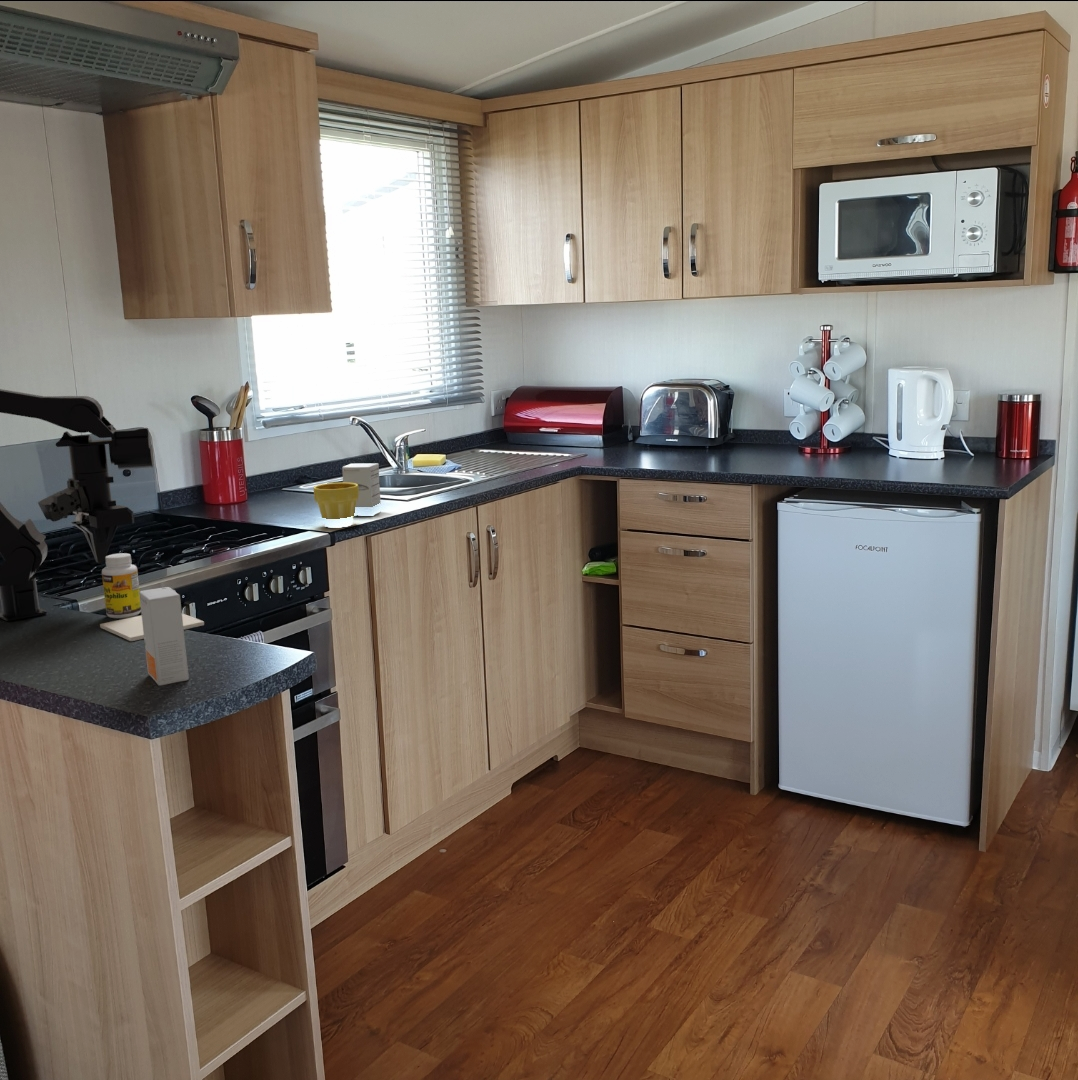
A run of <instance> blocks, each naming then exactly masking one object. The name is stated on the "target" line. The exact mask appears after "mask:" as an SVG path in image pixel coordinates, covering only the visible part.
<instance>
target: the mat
mask: <svg viewBox="0 0 1078 1080" xmlns="http://www.w3.org/2000/svg"><path fill="white" fill-rule="evenodd" d="M182 619H183V628H184V630H189V629H192V628H197V627H200V626H202V627H203V626H205V621H203V620H201V619H199V618H196V617H193V616H190V615H187V614H185V613H183V612H182ZM99 627H100V628H101V629H103V630H105V631H107V632H109V633H112V634H114V635H116V636H119V637H120V638H123V639H125V640H127V641H129V642H134V641H138V640H139V641H140V640H143V639H144V632H143V623H142V614H141V615H136V616H133V617H128V618H121V619H119V620H112V621H109V622H108V621H107V622H104V623H100V624H99Z"/></svg>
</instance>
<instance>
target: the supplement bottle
mask: <svg viewBox="0 0 1078 1080" xmlns="http://www.w3.org/2000/svg"><path fill="white" fill-rule="evenodd" d="M138 573H139V571H138V567H137V565H135V564H132V556H131V554H130V553H127V552H124V553H123V552H122V553H112V554H109V555H106V557H105V567H104V568H102V570H101V577H102V579H101V580H102V586H103V594H104V603H105V612H106V613H105V614H106V616H107V617H108V618H111V619H127V618H131V617H136V616H139V614H141V605H140V596H139V591H141V590H140V582H139V574H138Z"/></svg>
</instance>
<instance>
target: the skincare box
mask: <svg viewBox="0 0 1078 1080" xmlns="http://www.w3.org/2000/svg"><path fill="white" fill-rule="evenodd" d="M139 596H140V605H141V612H140V614H141V615H142V623H143V632H144V641H143V642H144V647H145V658H146V665H147V674H148V675H149V677H151V678H152V679H153V681H154V682H155V683H156V684H157V686H164V685H165V686H166V685H169V684H174V683H180V682H185V681H189V679H190V677H189V676H190V675H189V667H188V658H187V651H186V640H185V638H186V637H185V631H184V630H185V629H184V628H183V619H182V613H183V612H182V604H181V603H182V602H181V594H179V593H177V592H176V590H175V589H173V588H171V587H170V586H167V587H166V586H165V587H158V588H151V589H144V590H140V591H139Z"/></svg>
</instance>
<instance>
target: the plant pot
mask: <svg viewBox="0 0 1078 1080" xmlns="http://www.w3.org/2000/svg"><path fill="white" fill-rule="evenodd" d="M313 498H314V502H315V503H317V505H318V508H319V509H318V510H319V512H320V516H321V519H322V518H326V519H340V518H347V517H351V516H354V513H355V506H356V500H357V499H358V498H359V489H358V484H356V483H346V482H343V481H342V482H328V483H322V484H317V485H315V486H314V487H313ZM354 517H355V516H354Z"/></svg>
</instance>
